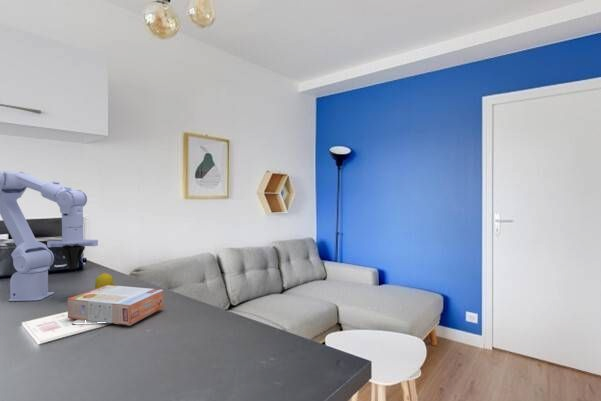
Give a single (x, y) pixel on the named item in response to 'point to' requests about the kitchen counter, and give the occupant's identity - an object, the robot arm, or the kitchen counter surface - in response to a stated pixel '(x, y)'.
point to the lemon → (104, 280)
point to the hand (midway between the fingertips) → (73, 268)
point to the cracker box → (115, 304)
